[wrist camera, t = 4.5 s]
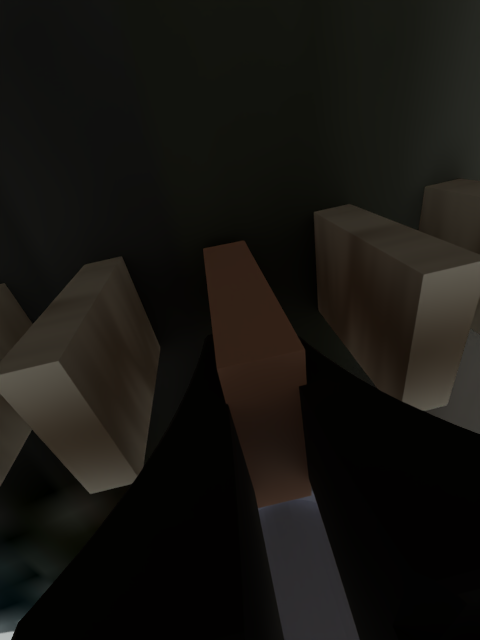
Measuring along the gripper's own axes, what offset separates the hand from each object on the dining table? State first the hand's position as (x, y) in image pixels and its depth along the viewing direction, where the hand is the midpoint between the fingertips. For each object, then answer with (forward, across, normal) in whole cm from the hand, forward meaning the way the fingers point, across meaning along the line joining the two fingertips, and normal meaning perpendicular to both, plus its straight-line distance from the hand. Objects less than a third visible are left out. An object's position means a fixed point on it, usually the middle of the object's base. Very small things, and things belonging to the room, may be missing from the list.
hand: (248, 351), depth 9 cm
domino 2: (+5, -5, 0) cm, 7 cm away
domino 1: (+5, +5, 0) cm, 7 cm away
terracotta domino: (+3, 0, 0) cm, 3 cm away
